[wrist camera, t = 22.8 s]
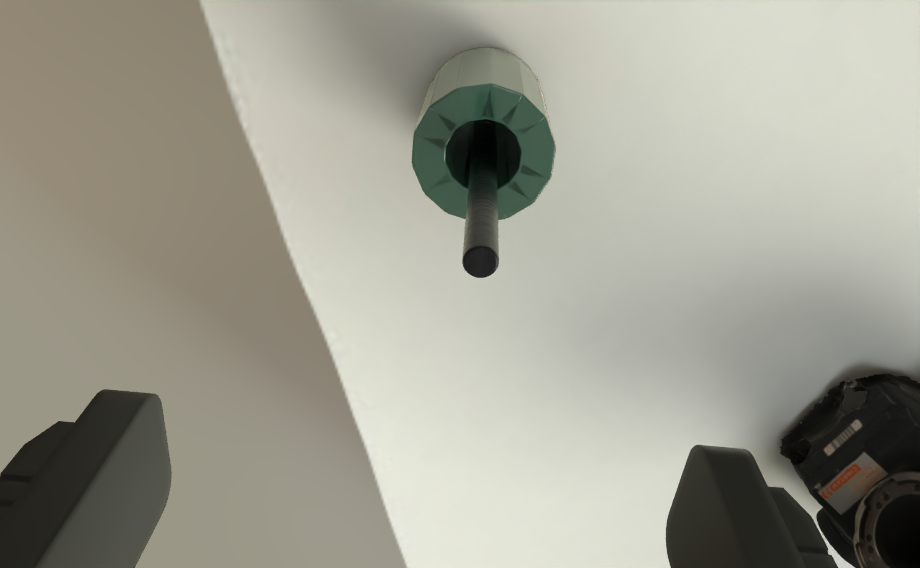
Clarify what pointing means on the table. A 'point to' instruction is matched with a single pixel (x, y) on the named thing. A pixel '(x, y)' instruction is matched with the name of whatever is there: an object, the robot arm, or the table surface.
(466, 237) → the stylus
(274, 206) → the table surface
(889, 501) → the movie camera
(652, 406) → the table surface
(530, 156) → the holder
